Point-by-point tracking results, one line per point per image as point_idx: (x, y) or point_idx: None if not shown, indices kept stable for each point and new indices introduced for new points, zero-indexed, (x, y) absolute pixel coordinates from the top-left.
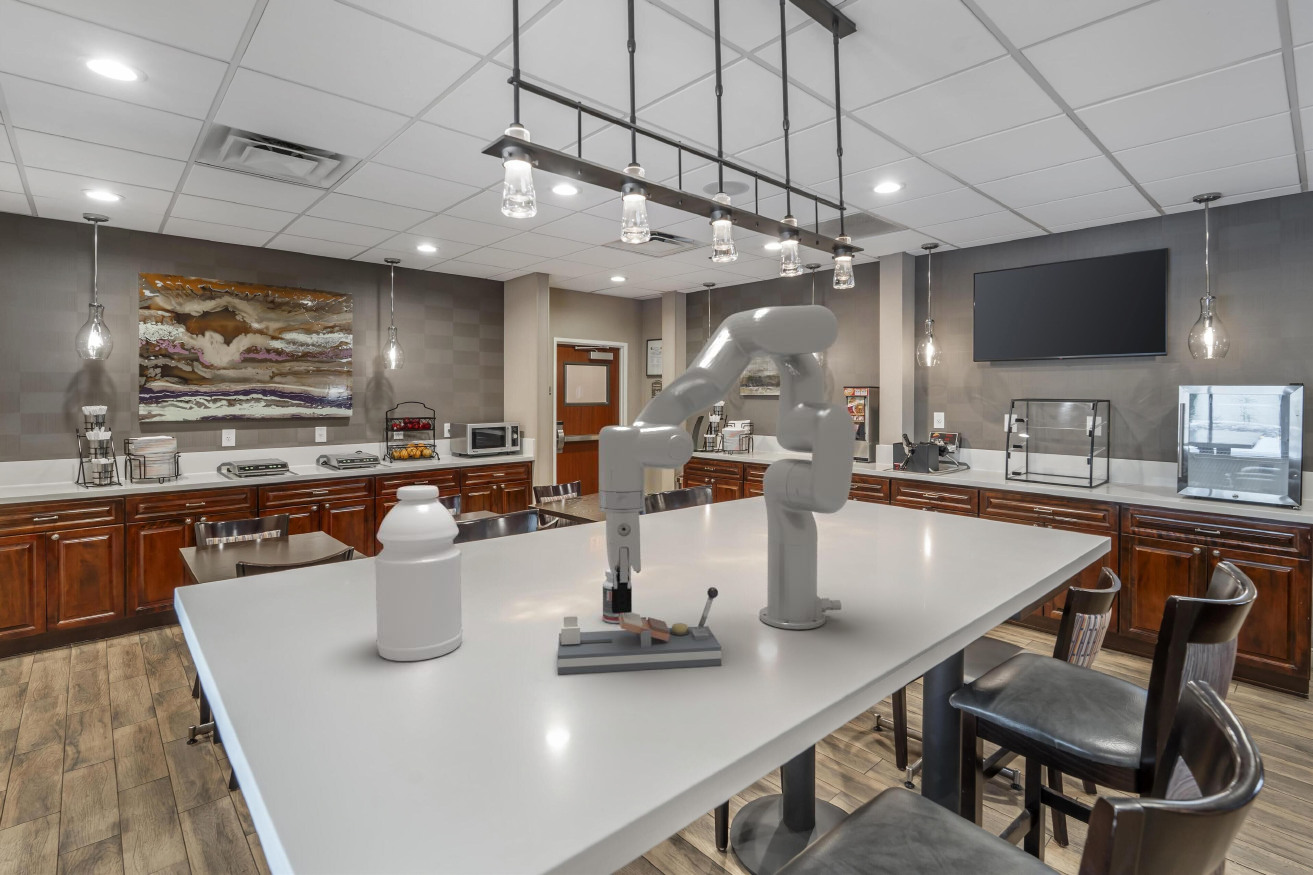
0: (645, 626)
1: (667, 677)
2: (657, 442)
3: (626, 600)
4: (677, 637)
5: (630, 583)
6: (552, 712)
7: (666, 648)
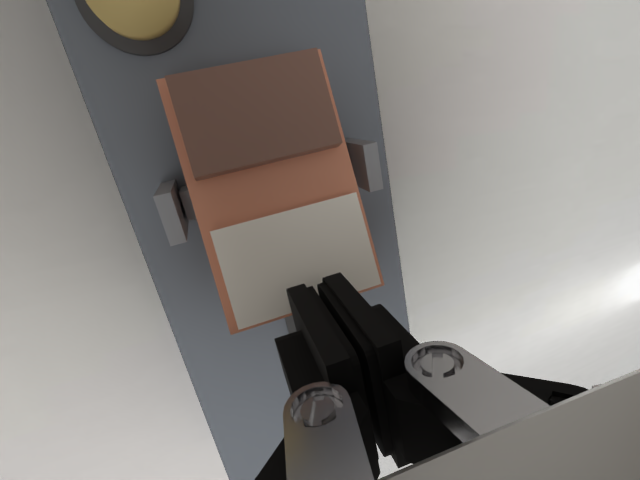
0: (318, 177)
1: (413, 69)
2: None
3: (396, 325)
4: (217, 11)
5: (485, 366)
6: (564, 321)
7: (359, 68)
